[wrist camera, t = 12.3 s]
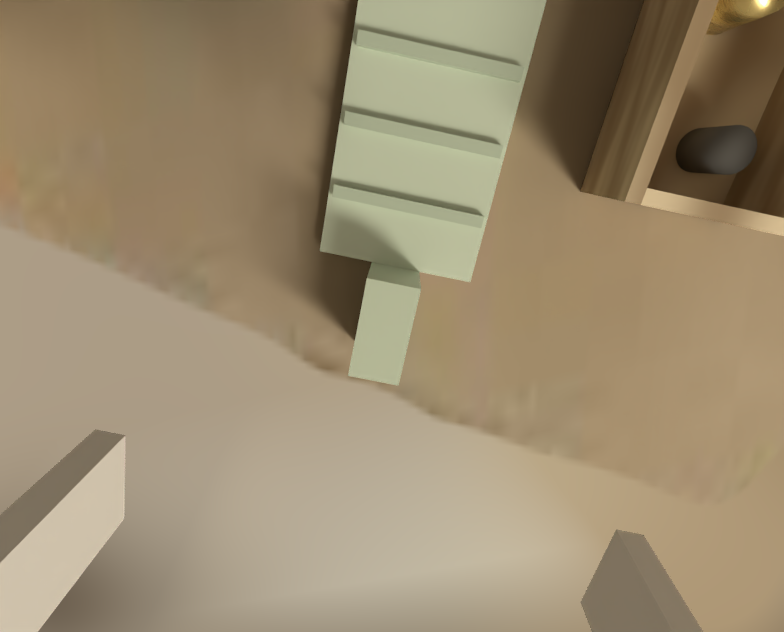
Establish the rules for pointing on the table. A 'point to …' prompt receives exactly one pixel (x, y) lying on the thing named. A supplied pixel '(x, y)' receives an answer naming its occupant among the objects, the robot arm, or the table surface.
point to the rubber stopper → (717, 149)
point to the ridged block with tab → (421, 152)
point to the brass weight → (740, 13)
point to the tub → (695, 115)
